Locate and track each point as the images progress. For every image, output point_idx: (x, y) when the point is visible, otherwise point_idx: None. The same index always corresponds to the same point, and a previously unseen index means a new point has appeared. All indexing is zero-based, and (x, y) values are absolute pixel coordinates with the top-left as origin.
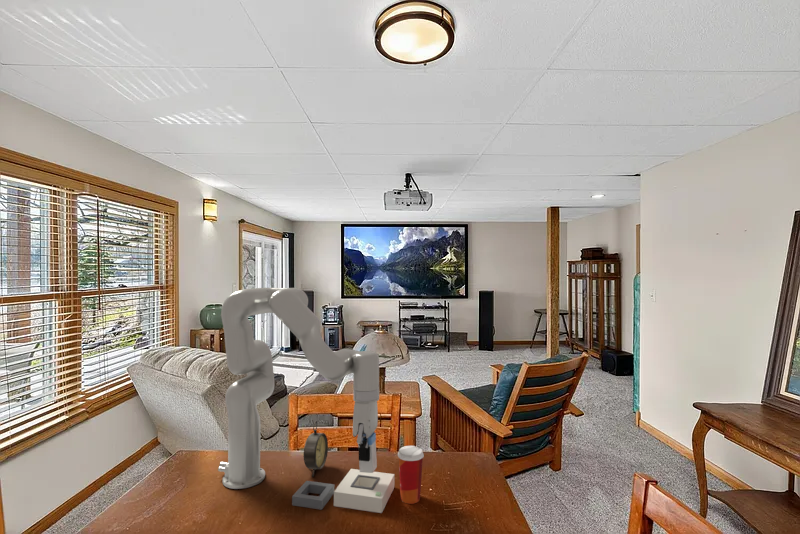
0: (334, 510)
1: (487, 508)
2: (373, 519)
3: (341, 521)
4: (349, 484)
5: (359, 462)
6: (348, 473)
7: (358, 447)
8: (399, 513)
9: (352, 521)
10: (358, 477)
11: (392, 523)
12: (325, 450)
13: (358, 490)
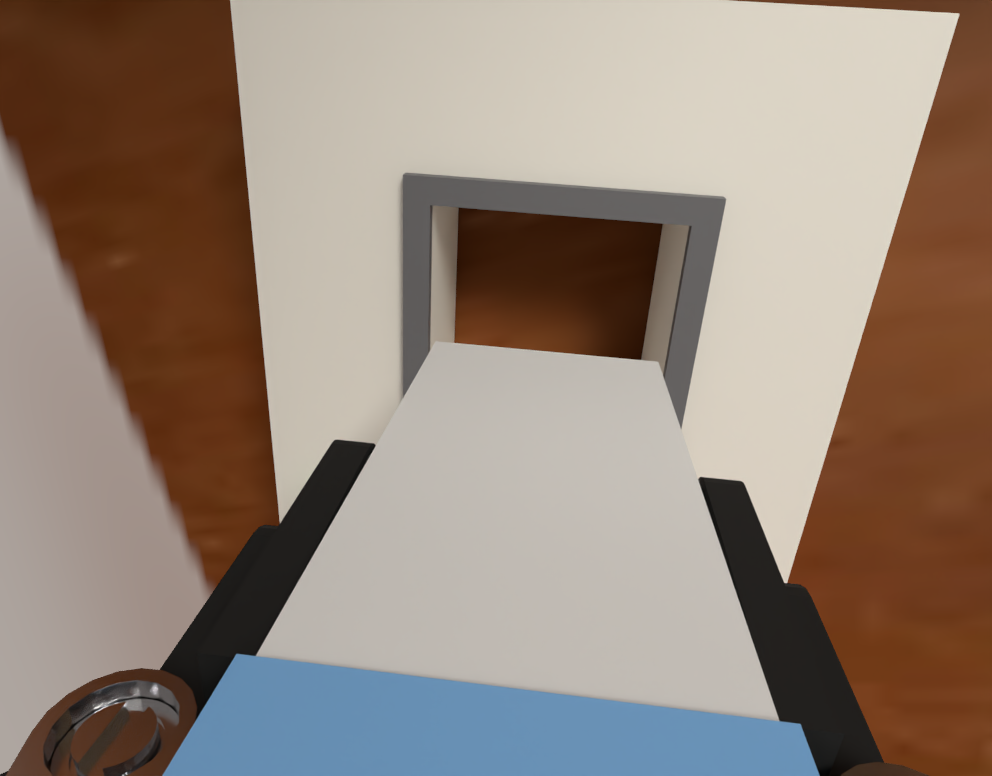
0: (229, 28)
1: None
2: (228, 419)
3: (99, 165)
4: (462, 140)
5: (401, 406)
6: (784, 21)
7: (294, 592)
8: None
9: (139, 263)
10: (650, 220)
11: (232, 546)
12: None
13: (350, 294)
